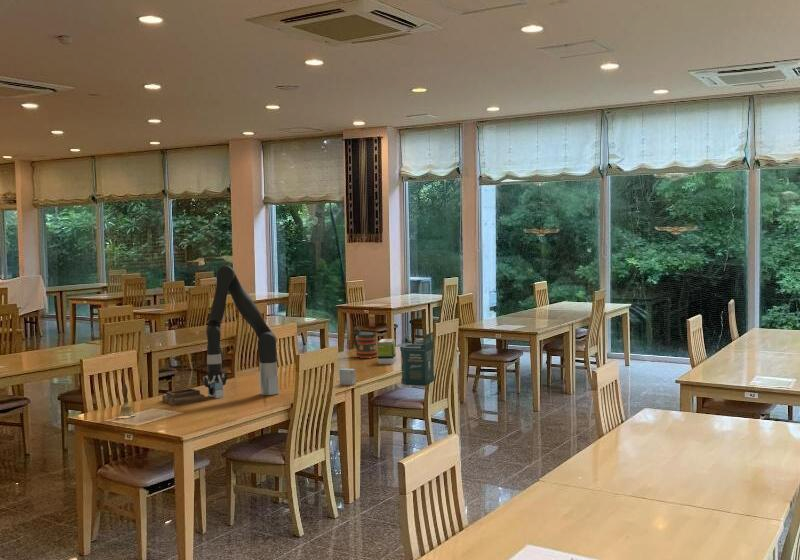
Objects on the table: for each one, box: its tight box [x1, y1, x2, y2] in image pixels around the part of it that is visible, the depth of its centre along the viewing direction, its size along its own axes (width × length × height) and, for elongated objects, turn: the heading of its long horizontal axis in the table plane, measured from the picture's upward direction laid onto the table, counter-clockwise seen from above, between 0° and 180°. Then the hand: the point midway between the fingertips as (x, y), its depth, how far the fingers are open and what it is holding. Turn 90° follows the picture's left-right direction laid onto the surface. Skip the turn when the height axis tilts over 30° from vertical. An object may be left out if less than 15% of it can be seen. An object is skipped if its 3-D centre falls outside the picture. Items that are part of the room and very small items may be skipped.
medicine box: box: [339, 368, 356, 386], centre depth 451 cm, size 8×4×9 cm, turn 71°
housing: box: [207, 380, 224, 399], centre depth 426 cm, size 9×4×8 cm, turn 40°
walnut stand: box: [162, 387, 205, 406], centre depth 418 cm, size 16×16×5 cm
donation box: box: [399, 331, 436, 387], centre depth 450 cm, size 16×16×28 cm
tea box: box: [376, 338, 397, 365], centre depth 525 cm, size 15×10×15 cm
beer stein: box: [352, 327, 378, 359], centre depth 551 cm, size 19×15×20 cm
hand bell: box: [118, 383, 135, 416], centre depth 383 cm, size 8×8×16 cm
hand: (215, 394), depth 426 cm, fingers closed on housing, 4 cm apart
